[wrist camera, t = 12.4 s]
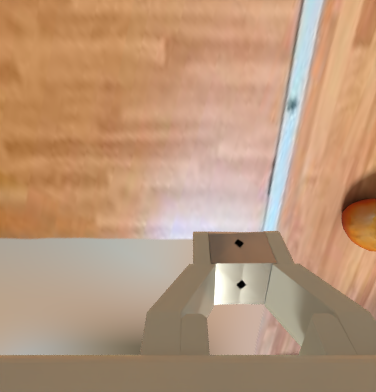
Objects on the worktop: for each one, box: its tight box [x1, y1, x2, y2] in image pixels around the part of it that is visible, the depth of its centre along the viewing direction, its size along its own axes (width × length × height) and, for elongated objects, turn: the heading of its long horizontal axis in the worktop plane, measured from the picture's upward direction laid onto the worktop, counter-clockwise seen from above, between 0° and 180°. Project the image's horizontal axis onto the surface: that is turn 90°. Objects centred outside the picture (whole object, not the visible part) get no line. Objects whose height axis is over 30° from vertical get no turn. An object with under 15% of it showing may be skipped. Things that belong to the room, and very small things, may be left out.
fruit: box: [342, 198, 376, 251], centre depth 41 cm, size 8×8×8 cm
